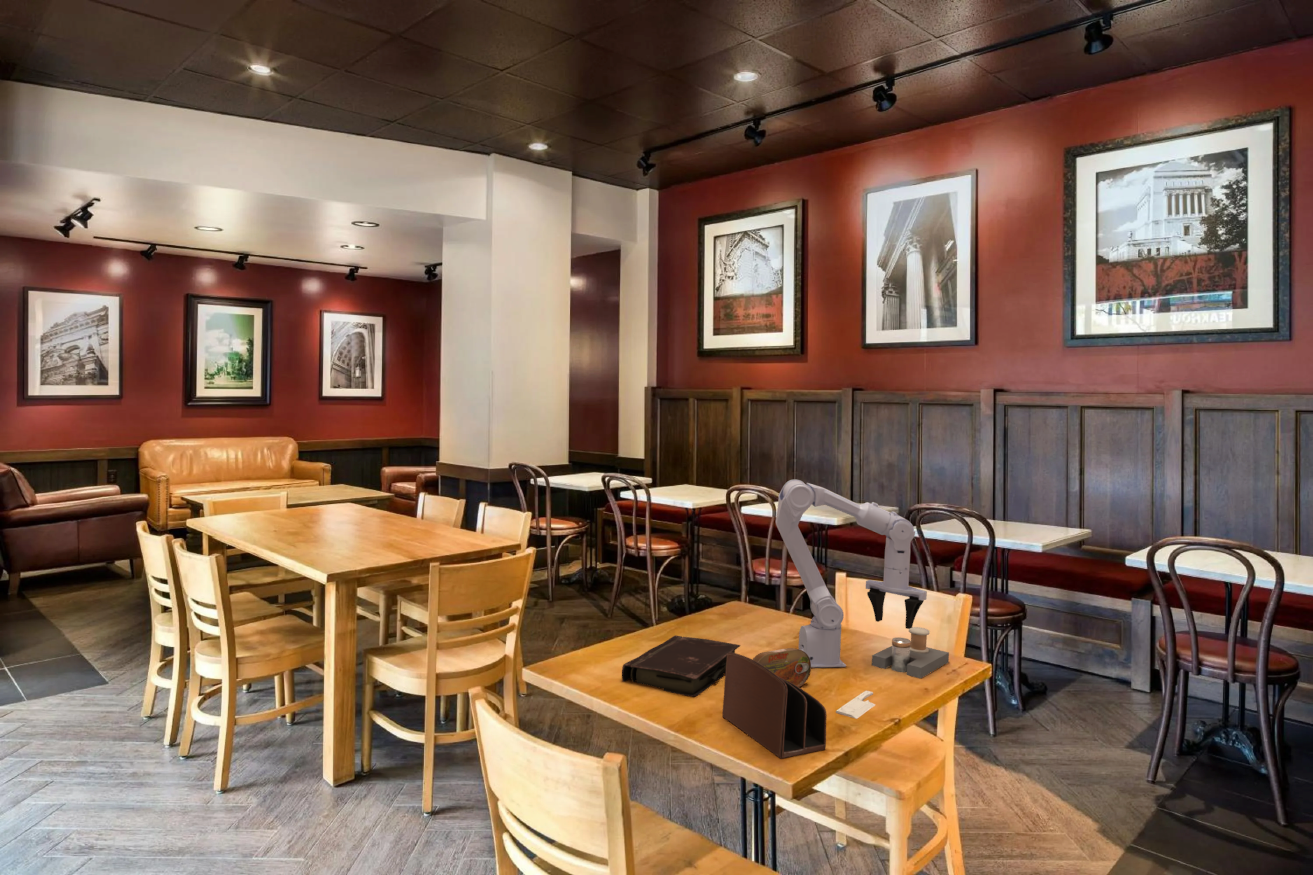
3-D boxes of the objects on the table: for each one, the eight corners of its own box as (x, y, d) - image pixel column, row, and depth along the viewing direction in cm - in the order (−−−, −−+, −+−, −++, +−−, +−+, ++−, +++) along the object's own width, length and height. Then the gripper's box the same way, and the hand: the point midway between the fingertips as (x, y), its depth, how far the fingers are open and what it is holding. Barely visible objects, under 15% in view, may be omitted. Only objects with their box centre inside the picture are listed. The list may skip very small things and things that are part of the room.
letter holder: (780, 760, 140) (783, 680, 140) (721, 717, 158) (724, 646, 157) (826, 750, 145) (830, 673, 144) (764, 710, 163) (767, 641, 162)
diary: (620, 684, 176) (620, 661, 176) (671, 653, 198) (672, 633, 198) (698, 700, 167) (698, 676, 167) (743, 666, 189) (743, 645, 189)
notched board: (920, 678, 184) (922, 645, 183) (871, 665, 192) (873, 634, 191) (948, 662, 196) (950, 631, 195) (901, 650, 204) (902, 621, 203)
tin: (753, 695, 170) (755, 656, 169) (745, 690, 173) (747, 651, 172) (811, 686, 177) (812, 648, 176) (802, 681, 180) (803, 644, 179)
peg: (895, 672, 187) (896, 642, 187) (887, 666, 191) (889, 637, 191) (912, 672, 188) (914, 642, 187) (904, 666, 192) (905, 637, 192)
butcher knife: (888, 700, 171) (888, 695, 171) (858, 721, 159) (859, 716, 159) (865, 693, 174) (865, 688, 174) (834, 714, 162) (835, 709, 162)
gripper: (933, 570, 189) (930, 627, 190) (876, 560, 199) (873, 614, 200) (920, 574, 184) (917, 633, 185) (862, 563, 194) (859, 619, 195)
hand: (893, 624), depth 192 cm, fingers open, 7 cm apart
